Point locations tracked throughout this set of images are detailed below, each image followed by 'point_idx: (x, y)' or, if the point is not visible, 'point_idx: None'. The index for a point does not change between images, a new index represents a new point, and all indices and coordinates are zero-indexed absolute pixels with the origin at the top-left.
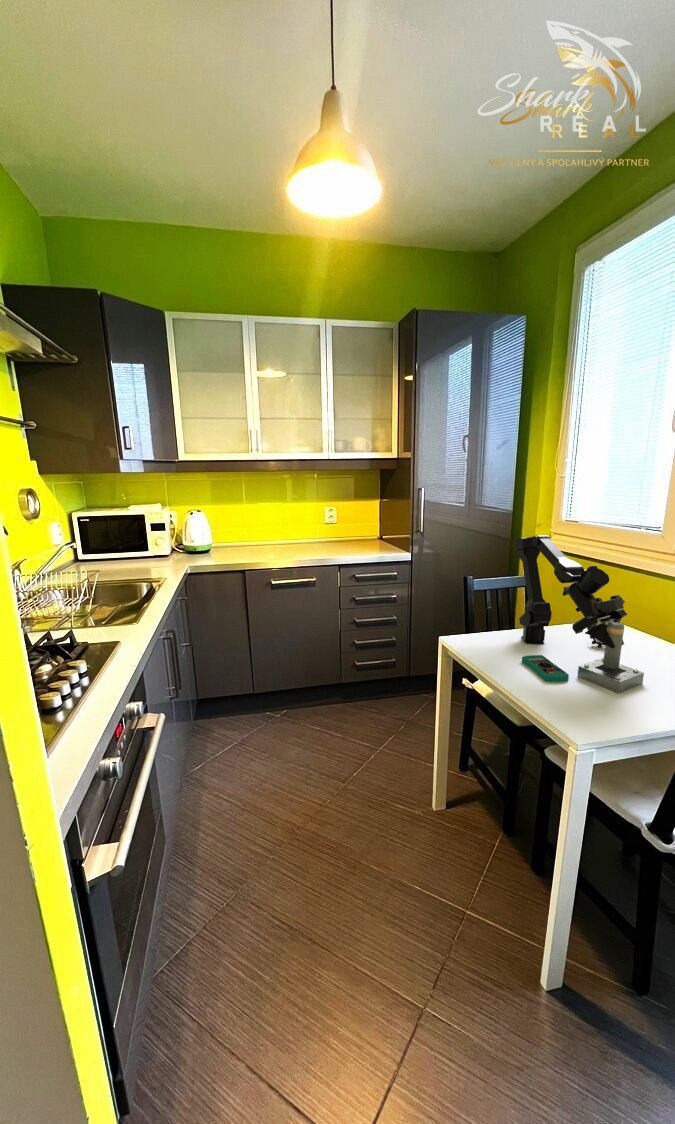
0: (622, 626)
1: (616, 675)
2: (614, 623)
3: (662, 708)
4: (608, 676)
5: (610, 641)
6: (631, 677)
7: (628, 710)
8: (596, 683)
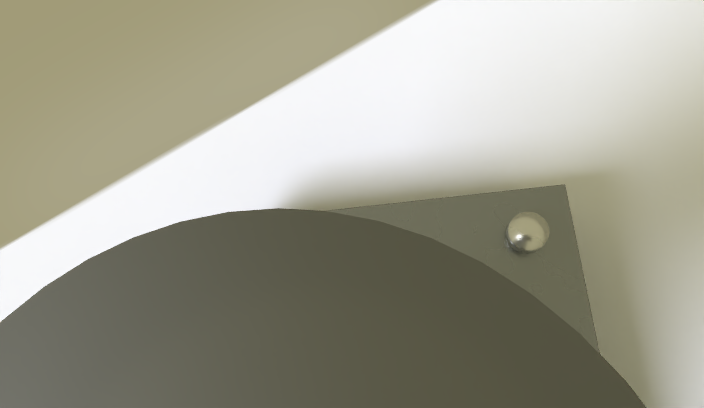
0: (309, 213)
1: None
2: None
3: (455, 3)
4: (564, 298)
5: None
6: (389, 204)
7: (683, 49)
8: None
